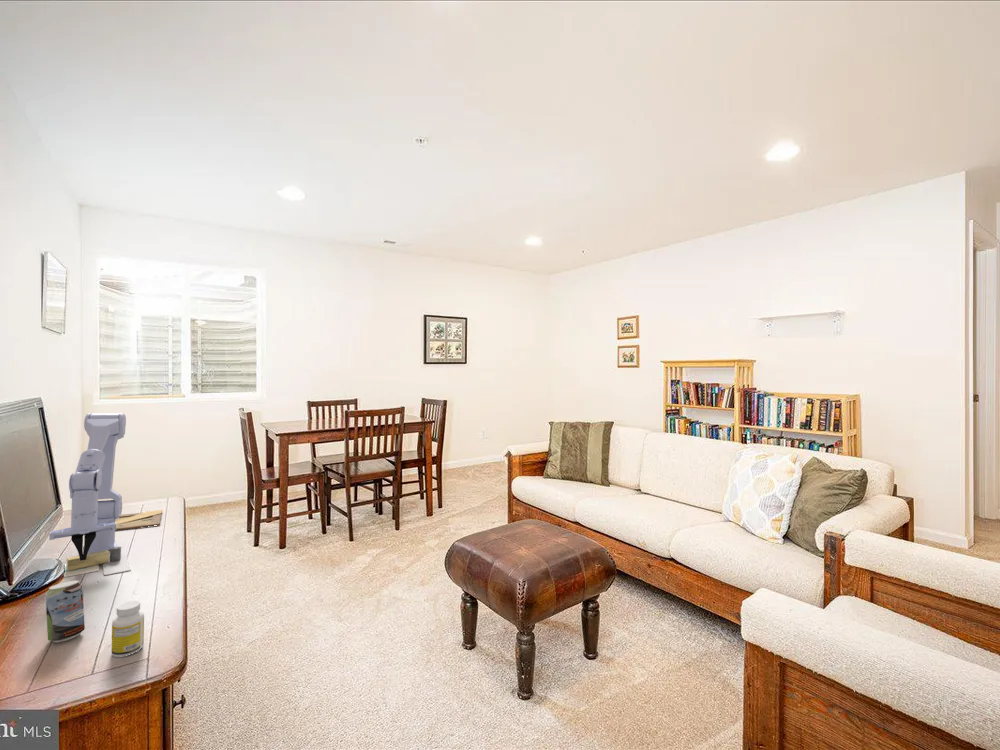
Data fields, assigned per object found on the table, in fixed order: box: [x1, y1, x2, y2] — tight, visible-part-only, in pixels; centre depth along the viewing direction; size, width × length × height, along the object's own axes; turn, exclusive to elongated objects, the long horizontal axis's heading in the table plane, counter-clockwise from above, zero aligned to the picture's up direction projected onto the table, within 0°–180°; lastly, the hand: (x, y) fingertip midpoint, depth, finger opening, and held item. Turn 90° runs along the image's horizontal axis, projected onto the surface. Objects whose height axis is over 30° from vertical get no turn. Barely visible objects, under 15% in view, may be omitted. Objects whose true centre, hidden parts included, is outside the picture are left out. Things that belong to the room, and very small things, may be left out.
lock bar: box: [66, 550, 110, 571], centre depth 141 cm, size 9×2×3 cm, turn 140°
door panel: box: [63, 546, 132, 578], centre depth 141 cm, size 16×14×4 cm
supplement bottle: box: [111, 600, 145, 658], centre depth 101 cm, size 5×5×10 cm
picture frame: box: [83, 509, 163, 536], centre depth 180 cm, size 19×2×24 cm
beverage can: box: [45, 579, 86, 643], centre depth 105 cm, size 6×7×12 cm
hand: (82, 559), depth 138 cm, fingers closed
